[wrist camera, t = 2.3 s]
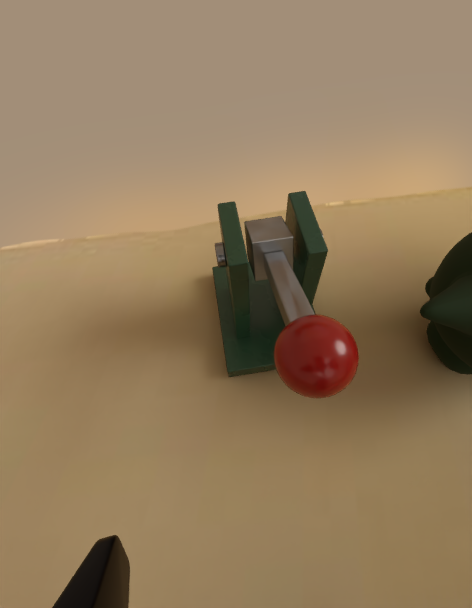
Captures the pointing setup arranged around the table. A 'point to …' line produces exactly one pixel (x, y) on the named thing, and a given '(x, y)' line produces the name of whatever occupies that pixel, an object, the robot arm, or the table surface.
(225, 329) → the bracket
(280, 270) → the lever
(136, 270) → the table surface
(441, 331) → the toy figurine
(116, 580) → the robot arm
